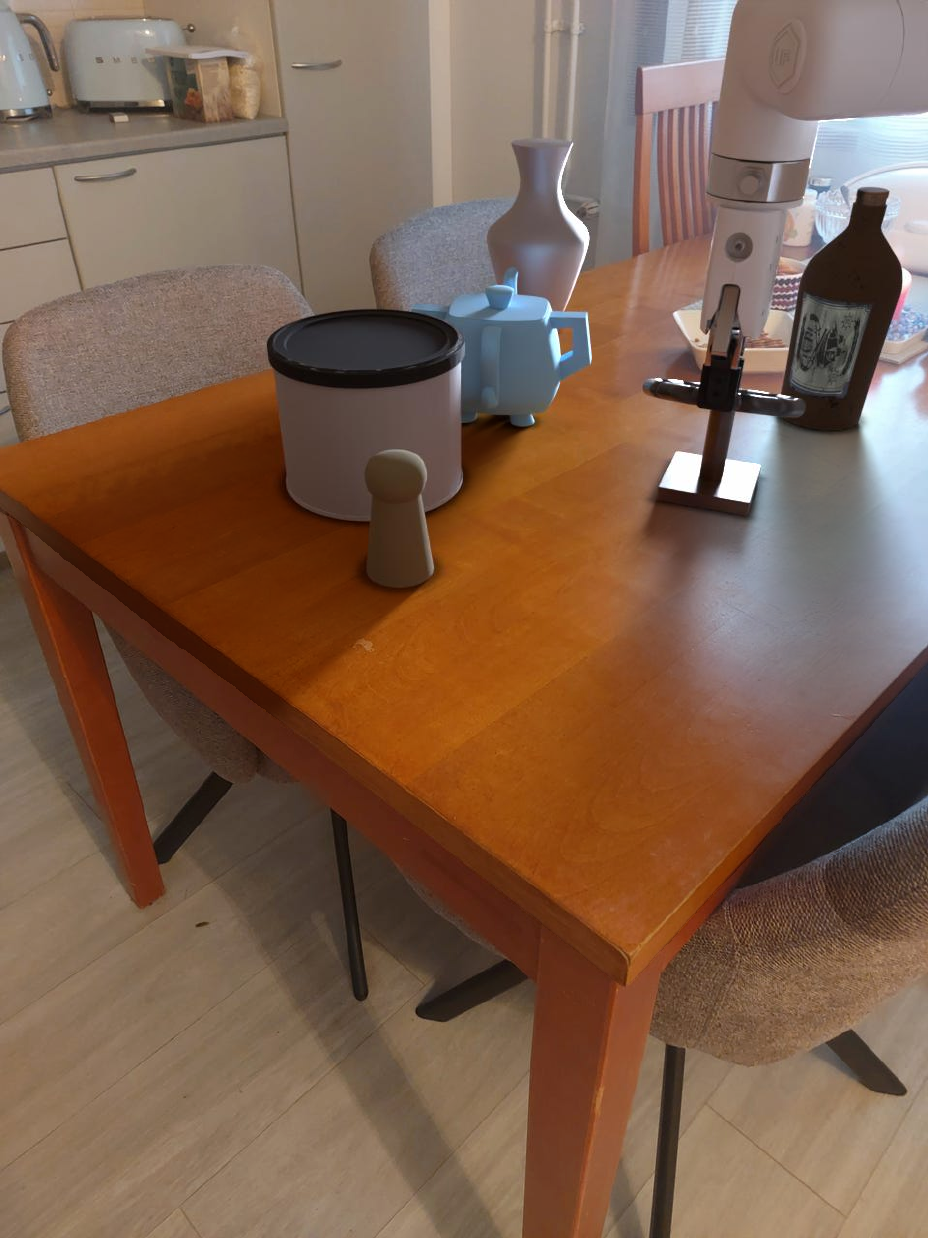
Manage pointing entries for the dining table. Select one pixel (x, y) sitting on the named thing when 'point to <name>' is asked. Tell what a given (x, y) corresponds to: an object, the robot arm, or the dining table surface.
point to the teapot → (512, 350)
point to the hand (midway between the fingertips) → (716, 402)
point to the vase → (540, 227)
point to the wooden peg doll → (397, 520)
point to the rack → (711, 473)
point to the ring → (743, 401)
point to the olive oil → (843, 318)
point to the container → (367, 403)
